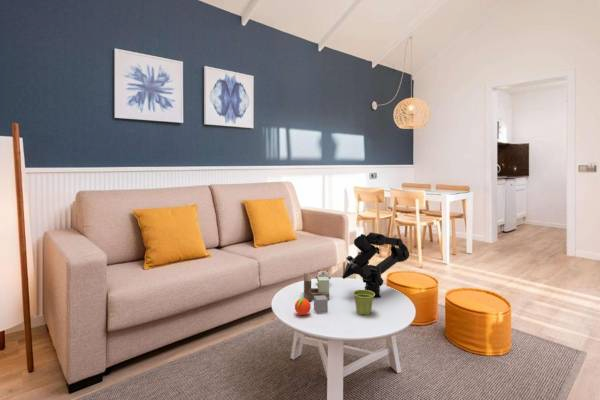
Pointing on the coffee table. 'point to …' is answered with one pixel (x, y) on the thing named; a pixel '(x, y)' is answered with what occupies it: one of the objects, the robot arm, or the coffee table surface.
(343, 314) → the coffee table surface
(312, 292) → the walnut console
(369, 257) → the robot arm
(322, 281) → the pale green block
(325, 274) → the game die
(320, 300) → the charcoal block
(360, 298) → the plant pot
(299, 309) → the clementine
